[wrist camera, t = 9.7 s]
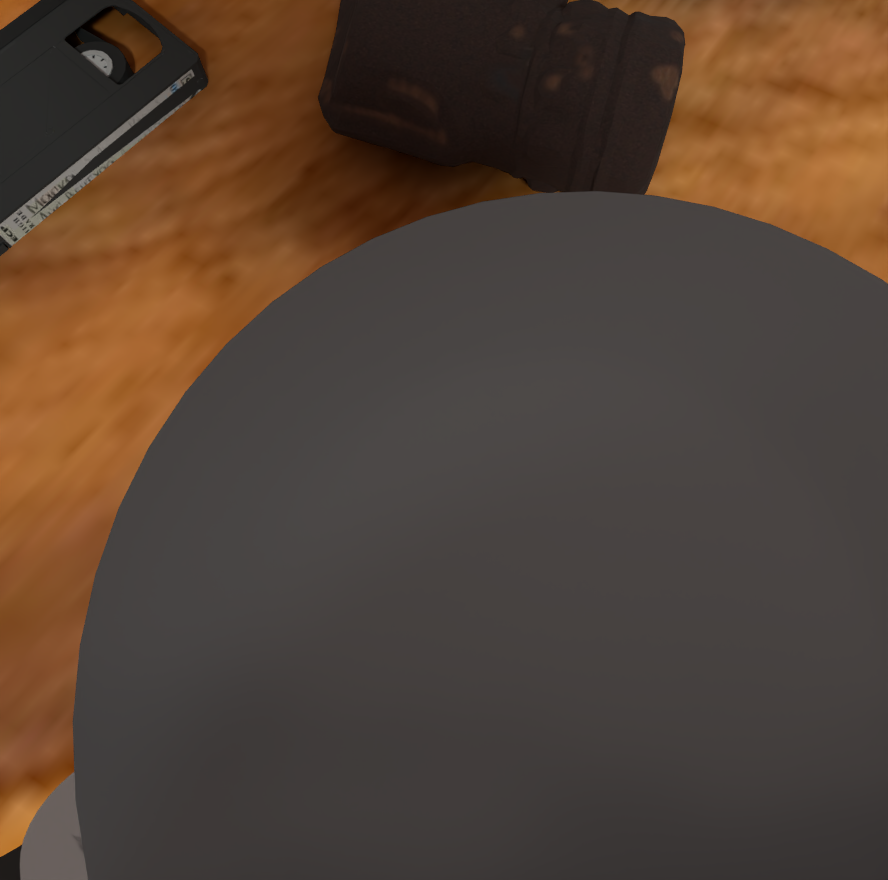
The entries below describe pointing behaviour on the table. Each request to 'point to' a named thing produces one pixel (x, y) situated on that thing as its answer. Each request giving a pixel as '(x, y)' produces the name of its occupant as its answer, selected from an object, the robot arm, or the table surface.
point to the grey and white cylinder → (510, 567)
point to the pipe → (509, 87)
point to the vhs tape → (76, 104)
